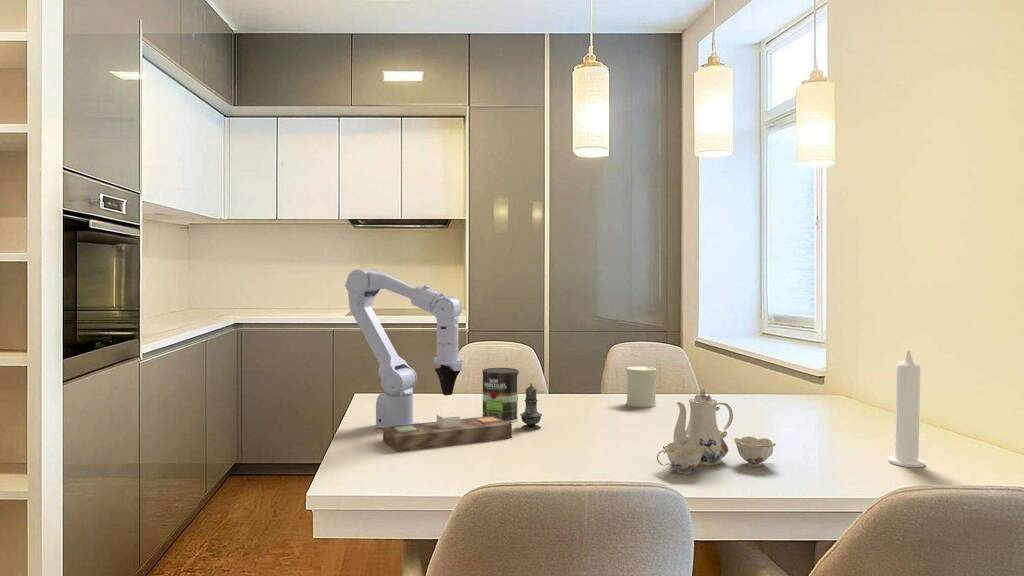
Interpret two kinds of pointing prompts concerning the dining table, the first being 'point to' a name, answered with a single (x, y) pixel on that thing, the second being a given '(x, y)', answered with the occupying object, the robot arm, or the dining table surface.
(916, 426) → the candle
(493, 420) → the terracotta key
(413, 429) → the sage key
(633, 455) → the dining table surface
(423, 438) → the brown long flat block
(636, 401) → the can
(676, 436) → the chinaware
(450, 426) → the offwhite key
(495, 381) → the coffee can
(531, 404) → the salt shaker
